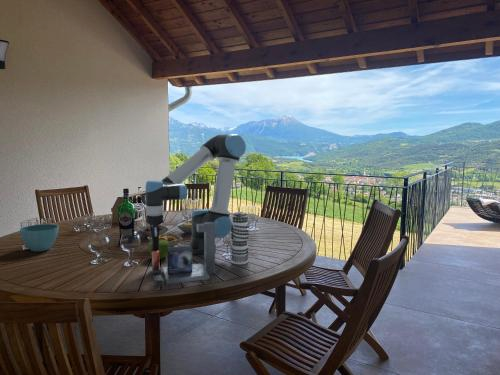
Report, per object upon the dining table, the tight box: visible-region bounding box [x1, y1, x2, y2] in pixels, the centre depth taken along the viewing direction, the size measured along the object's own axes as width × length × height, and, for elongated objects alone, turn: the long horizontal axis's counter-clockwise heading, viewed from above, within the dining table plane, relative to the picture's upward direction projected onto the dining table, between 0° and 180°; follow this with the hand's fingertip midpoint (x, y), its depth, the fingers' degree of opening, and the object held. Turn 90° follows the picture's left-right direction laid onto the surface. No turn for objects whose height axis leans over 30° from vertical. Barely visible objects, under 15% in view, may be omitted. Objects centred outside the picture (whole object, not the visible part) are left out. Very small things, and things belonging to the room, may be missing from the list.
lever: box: [151, 250, 162, 275], centre depth 154 cm, size 4×4×10 cm
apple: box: [147, 239, 171, 260], centre depth 177 cm, size 11×10×10 cm
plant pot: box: [19, 223, 60, 253], centre depth 189 cm, size 18×18×12 cm
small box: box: [167, 245, 193, 274], centre depth 153 cm, size 11×6×10 cm, turn 107°
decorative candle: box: [230, 211, 250, 265], centre depth 173 cm, size 9×9×25 cm
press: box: [152, 222, 216, 288], centre depth 153 cm, size 18×26×23 cm
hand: (155, 264), depth 160 cm, fingers closed
